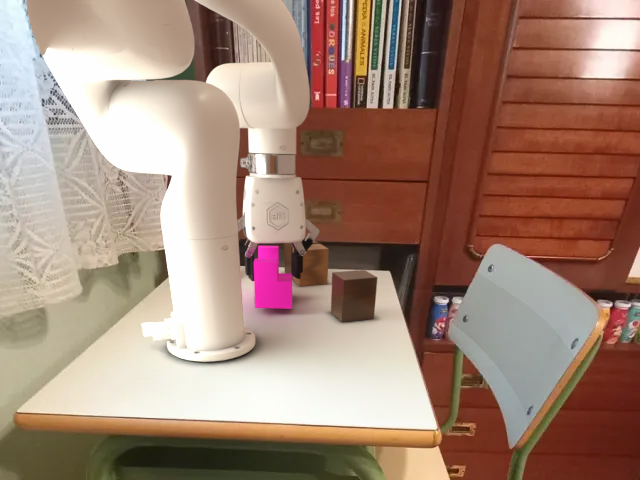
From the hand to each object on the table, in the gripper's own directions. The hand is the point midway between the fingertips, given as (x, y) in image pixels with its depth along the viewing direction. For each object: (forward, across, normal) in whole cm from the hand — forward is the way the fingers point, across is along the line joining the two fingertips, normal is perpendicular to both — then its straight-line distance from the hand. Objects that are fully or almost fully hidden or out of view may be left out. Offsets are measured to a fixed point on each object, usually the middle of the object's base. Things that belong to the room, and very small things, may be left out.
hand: (274, 277), depth 86 cm
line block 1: (+4, +11, +17) cm, 20 cm away
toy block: (+4, 0, 0) cm, 4 cm away
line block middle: (+4, +11, +11) cm, 16 cm away
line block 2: (+4, +11, -11) cm, 16 cm away
